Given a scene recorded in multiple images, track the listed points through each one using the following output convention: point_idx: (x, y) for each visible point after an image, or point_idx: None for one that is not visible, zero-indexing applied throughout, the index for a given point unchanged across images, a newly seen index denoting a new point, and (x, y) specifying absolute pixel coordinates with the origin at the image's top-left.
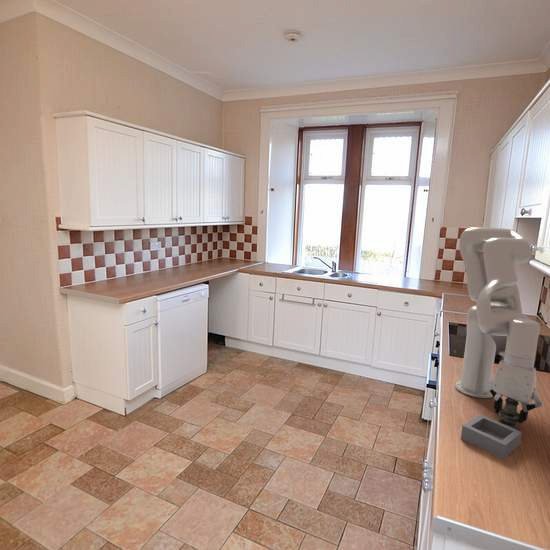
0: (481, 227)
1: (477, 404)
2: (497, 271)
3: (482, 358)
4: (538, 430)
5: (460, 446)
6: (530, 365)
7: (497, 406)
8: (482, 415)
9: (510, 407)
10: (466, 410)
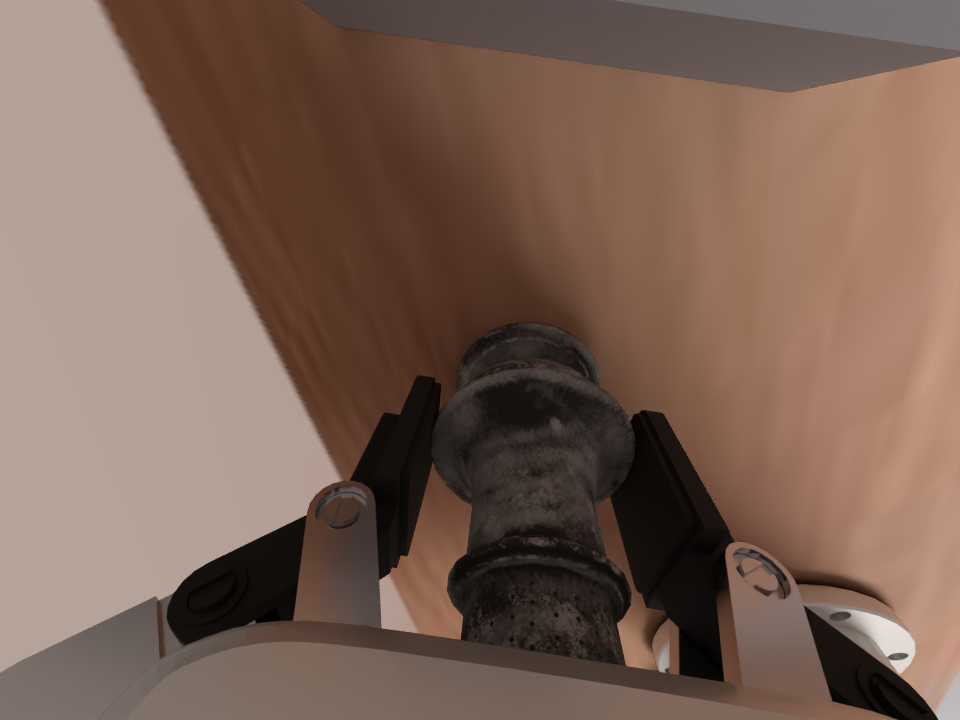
0: None
1: (755, 517)
2: None
3: None
4: (359, 444)
5: None
6: None
7: (675, 469)
8: (943, 23)
9: (533, 493)
10: (874, 378)
